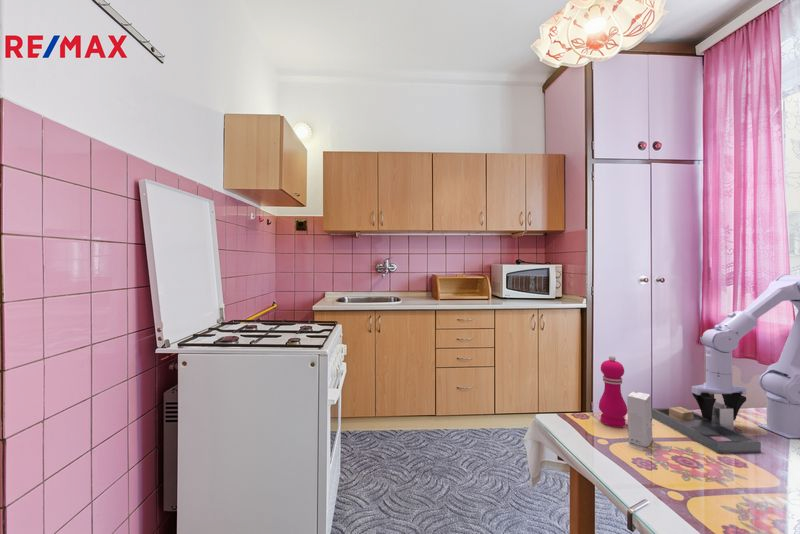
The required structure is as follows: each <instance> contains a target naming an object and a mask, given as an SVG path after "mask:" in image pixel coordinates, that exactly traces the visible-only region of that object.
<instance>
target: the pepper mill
mask: <svg viewBox="0 0 800 534" xmlns="http://www.w3.org/2000/svg"><path fill="white" fill-rule="evenodd" d="M616 359H617V357H616V356H615V355H612V354H611V355H609V356H608V359H607V360H605V361H604V360H603V362H602V363H601V364H600V371H601V373H602V374H603V375H602V381H603V382H604V383H603V384H604V390H603V393H602V395H601V397H600V399H599V402H598V409H599V411H600V412H601V415H600V421H601V423H602V424H604V425H606V426H609V427H613V428H624V427H625V426H627V425H626V421H627V420H626V418H625V416H626V415H628V405H627V404H626V402H625V401H626V400H625V399H624V398H623V395H622V391H621V388H622V386H621V385H622V384H623V378H622V377H623V376H624V375H625V368H624V366H623V364H622V363H621V362H619V361H617V360H616Z"/></svg>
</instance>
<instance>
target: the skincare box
mask: <svg viewBox="0 0 800 534" xmlns="http://www.w3.org/2000/svg"><path fill="white" fill-rule="evenodd" d="M626 400H627V404H626V405H627V425H628V427H627V429H628V435H627V436H628V442H629V443H631V444H634V445H637V446H640V447H643V448H648V447H649V446H650V445H651V444H652V442H653V420H652V419H653V418H652V415H651V408H652V399H651V394H649V393H645V392H640V391H632V392H630V393H628V395H627V399H626Z"/></svg>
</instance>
